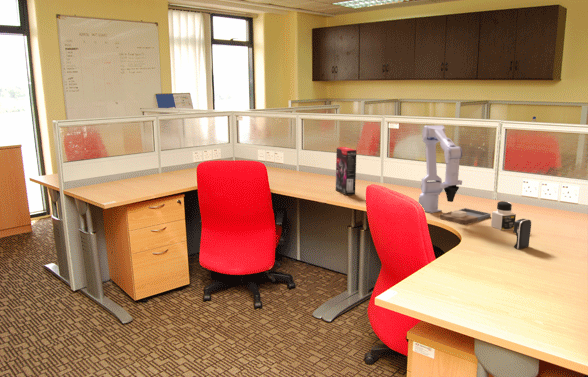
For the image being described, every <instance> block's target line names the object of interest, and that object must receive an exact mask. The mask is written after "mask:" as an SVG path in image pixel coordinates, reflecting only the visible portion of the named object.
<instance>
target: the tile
mask: <svg viewBox="0 0 588 377" xmlns="http://www.w3.org/2000/svg"><path fill="white" fill-rule="evenodd" d="M450 212H451V216H455V217H459V218H462V217H465V216H466V215H467V212H464V211H460V209H457V210H453V211H450Z"/></svg>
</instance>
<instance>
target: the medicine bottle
mask: <svg viewBox="0 0 588 377" xmlns="http://www.w3.org/2000/svg"><path fill="white" fill-rule="evenodd" d="M512 210H513V204H512V203H511V202H510V201H505V200H503V201H498V202H497V204H496V210H495V211H494V210H493V211H492V212H491V222H490V226H491V227H493V228H494V229H497V230H500V231H508V230H514V223H515V221H516V213H513V212H512Z"/></svg>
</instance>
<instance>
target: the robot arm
mask: <svg viewBox="0 0 588 377" xmlns="http://www.w3.org/2000/svg"><path fill="white" fill-rule="evenodd" d="M421 131H422V132H421V133H422V136H421V138H422V142H423V143H424V144H425V159H426V160H425V162H426V165H425V166H426V175H425V176H424V177H422V178H421V182H420V183H421V184H420V190H421V193H420V194H419V197H418V204H419V203H420V204H421V205H422V207H423V208H424V210H425V211H424V212H426V213H430V214H435V213H438V212H441V211H442V209H439V196H440V195H441V193H442V192H443V190H444V192H445V194H446V200H447V202H448V203H449V202H450V203H452V202H454V199H455V196H456V194H457V193H458V190H459V189H460V187H459V186H460V185H462V184H463V180H461V179H459V173H460V172H459V170H460V160H461V159H462V157H463V149H462V147H461V146H458V145H456V144H455V143H454V141H453V140H452V139H451V138H450V137H448V136H447V134H446V127H445V126H444V124H440V125H437V124H436V125H435V124H433V125H424V126H423V128H422V130H421ZM437 143H439V147H440V148H441V149H442V151H443V152H444V163H445V174H444V175H445V176H444V177H445V178H444V182H443V180H442V177H440V176H438V173H437V171H438V170H437V168H438V167H437Z"/></svg>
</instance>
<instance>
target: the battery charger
mask: <svg viewBox="0 0 588 377" xmlns="http://www.w3.org/2000/svg"><path fill="white" fill-rule="evenodd" d="M512 230H513V233H515V235H516V241H515V244H514V245H513V247H514V248H515V249H517V250H522V249H525V248H527V247H529V245H530V238H531V232H532V231H531V230H532V220H530V219H529V218H521V219H517V220H515V223H514V229H512Z"/></svg>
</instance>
